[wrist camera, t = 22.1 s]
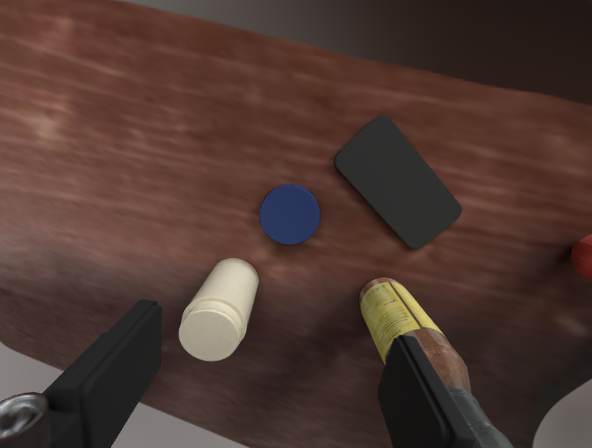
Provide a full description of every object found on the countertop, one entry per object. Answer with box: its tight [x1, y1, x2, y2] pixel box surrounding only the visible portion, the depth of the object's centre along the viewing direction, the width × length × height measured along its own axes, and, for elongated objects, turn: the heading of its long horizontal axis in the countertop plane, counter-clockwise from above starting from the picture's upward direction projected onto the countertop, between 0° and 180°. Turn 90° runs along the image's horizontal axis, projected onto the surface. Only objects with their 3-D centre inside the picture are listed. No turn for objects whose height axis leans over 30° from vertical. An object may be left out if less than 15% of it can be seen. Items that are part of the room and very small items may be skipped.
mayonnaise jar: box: [179, 258, 259, 361], centre depth 30 cm, size 6×6×11 cm
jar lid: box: [260, 184, 320, 245], centre depth 31 cm, size 7×7×2 cm
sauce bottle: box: [359, 277, 514, 448], centre depth 26 cm, size 7×6×20 cm
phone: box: [334, 116, 462, 249], centre depth 31 cm, size 7×1×15 cm
